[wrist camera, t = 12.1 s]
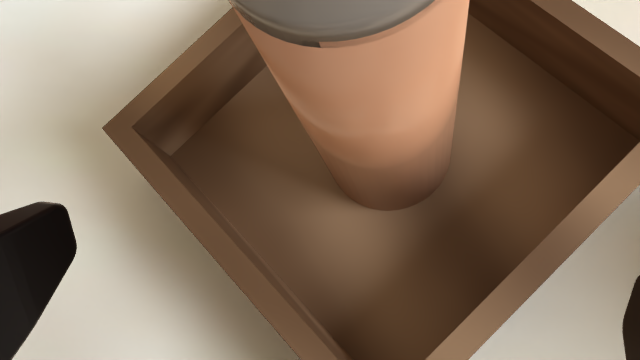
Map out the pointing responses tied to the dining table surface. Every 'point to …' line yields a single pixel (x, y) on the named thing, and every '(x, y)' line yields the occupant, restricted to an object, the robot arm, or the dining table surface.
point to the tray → (413, 222)
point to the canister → (369, 86)
